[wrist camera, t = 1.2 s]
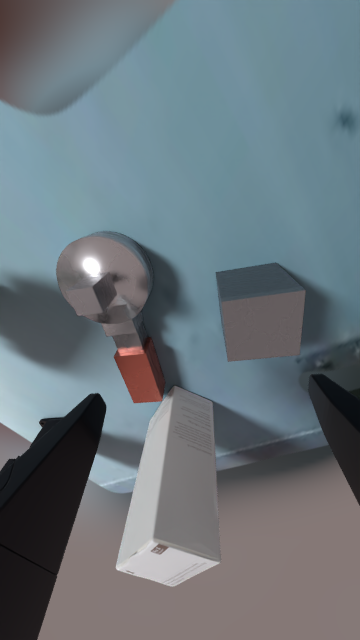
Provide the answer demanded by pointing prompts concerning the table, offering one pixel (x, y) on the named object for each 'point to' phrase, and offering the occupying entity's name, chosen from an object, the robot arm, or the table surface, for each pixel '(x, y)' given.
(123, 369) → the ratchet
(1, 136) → the table surface
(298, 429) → the table surface
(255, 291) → the brushed metal block
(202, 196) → the table surface
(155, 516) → the skincare box
